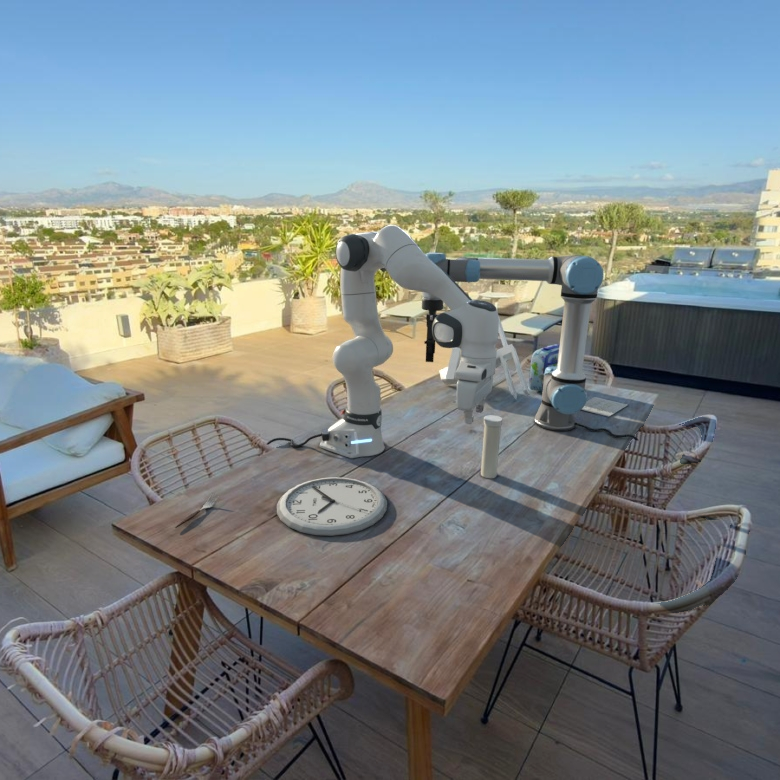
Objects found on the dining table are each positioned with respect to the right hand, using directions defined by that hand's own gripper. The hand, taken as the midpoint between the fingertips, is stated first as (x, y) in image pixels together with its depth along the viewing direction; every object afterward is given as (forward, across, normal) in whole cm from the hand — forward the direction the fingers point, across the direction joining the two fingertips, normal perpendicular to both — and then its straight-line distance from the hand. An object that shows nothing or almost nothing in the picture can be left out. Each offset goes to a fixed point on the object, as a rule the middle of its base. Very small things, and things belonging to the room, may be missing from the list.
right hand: (430, 357), depth 190 cm
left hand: (+2, +55, +14) cm, 57 cm away
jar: (+28, +35, +21) cm, 50 cm away
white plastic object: (+28, -50, +22) cm, 61 cm away
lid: (+10, +35, +21) cm, 42 cm away
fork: (+28, +71, -57) cm, 95 cm away
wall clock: (+28, +61, -23) cm, 71 cm away
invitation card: (+28, -38, +73) cm, 87 cm away
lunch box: (+28, -61, +55) cm, 87 cm away
